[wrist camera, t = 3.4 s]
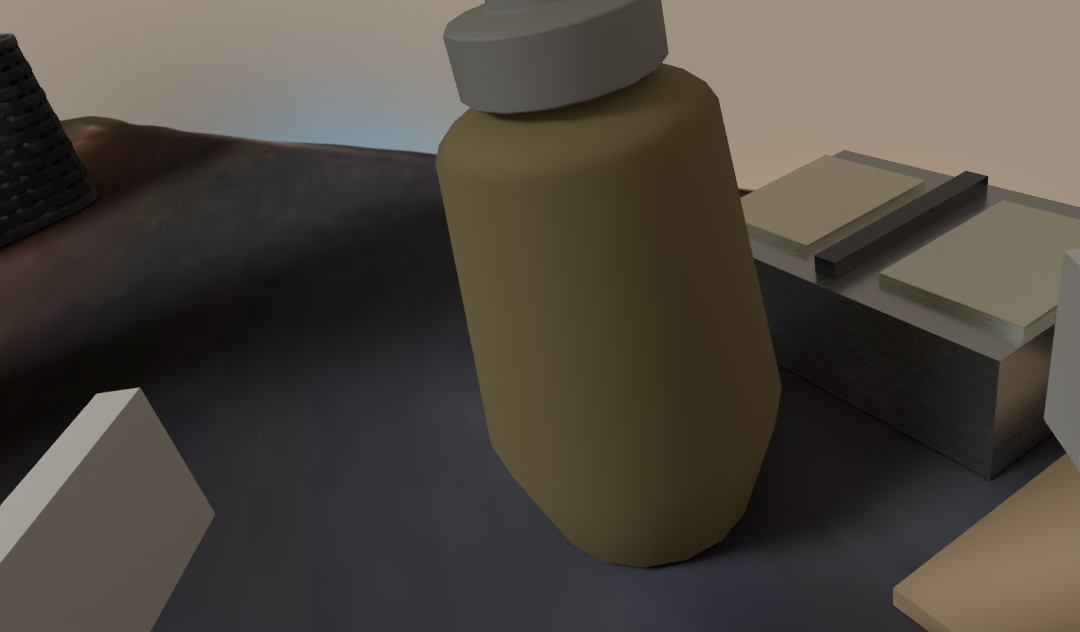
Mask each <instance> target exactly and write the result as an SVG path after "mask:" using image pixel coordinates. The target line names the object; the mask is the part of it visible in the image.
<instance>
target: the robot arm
mask: <svg viewBox="0 0 1080 632" xmlns="http://www.w3.org/2000/svg"><path fill="white" fill-rule="evenodd" d="M1044 420H1045V422H1046V423H1047V425H1048V426H1049V428H1050V429H1051V431H1052V432H1053V433H1054V435H1055V436H1056V438H1057V439H1058V441H1059V442H1060V444H1061V445H1062V446H1063V448H1064V449H1065V451H1066V452H1067V454H1068V455H1069V457H1070V458H1071V460H1072V461H1073V462H1074V464H1075V465H1076V467H1077V468H1078V470H1079V471H1080V249H1074V250H1067V251H1064V257H1063V266H1062V274H1061V282H1060V290H1059V298H1058V306H1057V315H1056V323H1055V331H1054V339H1053V347H1052V355H1051V363H1050V372H1049V380H1048V388H1047V396H1046V404H1045V412H1044ZM214 515H215V513H214V511H213V510H212V508H211V506H210V505H209V503H208V501H207V499H206V498H205V496H204V494H203V493H202V491H201V489H200V488H199V486H198V484H197V483H196V481H195V479H194V478H193V476H192V474H191V473H190V471H189V469H188V467H187V466H186V464H185V462H184V461H183V459H182V457H181V456H180V454H179V452H178V451H177V449H176V447H175V446H174V444H173V442H172V440H171V439H170V437H169V435H168V434H167V432H166V430H165V429H164V427H163V425H162V424H161V422H160V420H159V419H158V417H157V415H156V413H155V412H154V410H153V408H152V407H151V405H150V403H149V402H148V400H147V398H146V397H145V395H144V393H143V392H142V390H141V388H133V389H126V390H119V391H113V392H106V393H99V394H96V395H95V396H94V397H93V399H92V400H91V401H90V402H89V403H88V404H87V406H86V407H85V408H84V409H83V410H82V411H81V413H80V414H79V415H78V416H77V417H76V418H75V420H74V421H73V422H72V423H71V424H70V425H69V426H68V428H67V429H66V430H65V431H64V432H63V433H62V435H61V436H60V437H59V438H58V439H57V440H56V442H55V443H54V444H53V445H52V446H51V447H50V449H49V450H48V451H47V452H46V453H45V454H44V456H43V457H42V458H41V459H40V460H39V461H38V463H37V464H36V465H35V466H34V467H33V468H32V470H31V471H30V472H29V473H28V474H27V475H26V476H25V478H24V479H23V480H22V481H21V482H20V483H19V485H18V486H17V487H16V488H15V489H14V490H13V492H12V493H11V494H10V495H9V496H8V497H7V499H6V500H5V501H4V502H3V503H2V504H1V506H0V632H150V631H151V629H152V628H153V626H154V624H155V622H156V620H157V619H158V617H159V615H160V613H161V611H162V610H163V608H164V606H165V604H166V602H167V600H168V599H169V597H170V595H171V593H172V591H173V590H174V588H175V586H176V584H177V582H178V581H179V579H180V577H181V575H182V573H183V571H184V570H185V568H186V566H187V564H188V562H189V561H190V559H191V557H192V555H193V553H194V552H195V550H196V548H197V546H198V544H199V542H200V541H201V539H202V537H203V535H204V533H205V532H206V530H207V528H208V526H209V524H210V522H211V521H212V519H213V517H214Z"/></svg>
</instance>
